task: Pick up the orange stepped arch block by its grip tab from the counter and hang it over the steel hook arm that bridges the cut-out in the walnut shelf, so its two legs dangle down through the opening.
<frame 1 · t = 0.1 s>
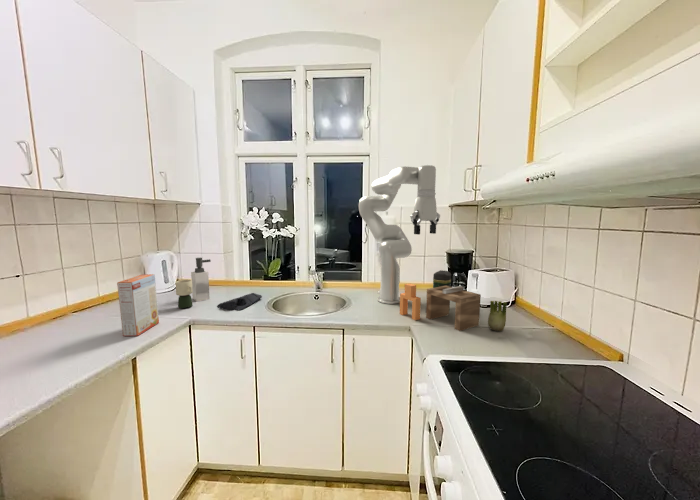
hand: (425, 233, 139), 37 cm above the countertop, tool pointing down, fingers open, 9 cm apart
dark slate chunk: (241, 304, 159), on the countertop
orange stepped arch block: (409, 316, 140), on the countertop
hook shelf: (451, 321, 134), on the countertop
cracker box: (141, 330, 124), on the countertop
coffee jar: (440, 309, 150), on the countertop
fennel bulb: (496, 330, 124), on the countertop
soap dispenser: (203, 299, 167), on the countertop
character mug: (185, 307, 152), on the countertop
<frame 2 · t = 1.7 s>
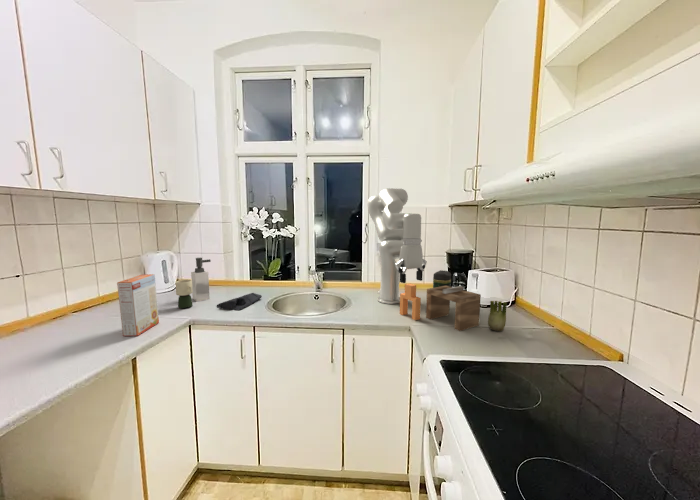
hand: (411, 281, 137), 16 cm above the countertop, tool pointing down, fingers open, 9 cm apart
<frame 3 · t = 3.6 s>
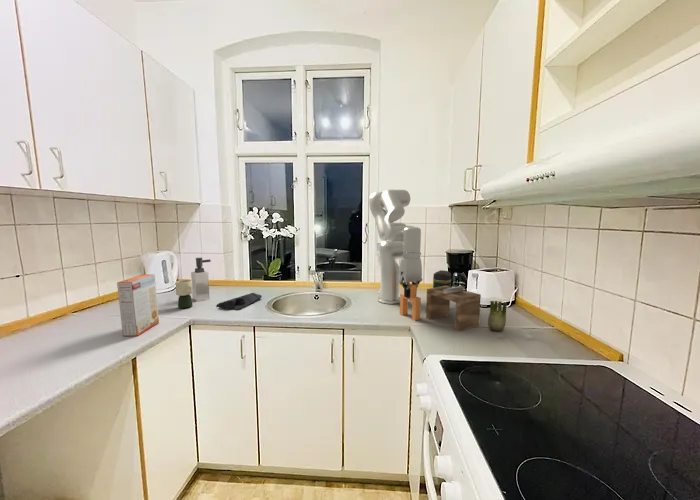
hand: (410, 296, 139), 9 cm above the countertop, tool pointing down, fingers closed on orange stepped arch block, 3 cm apart
orange stepped arch block: (409, 316, 140), on the countertop, touching gripper
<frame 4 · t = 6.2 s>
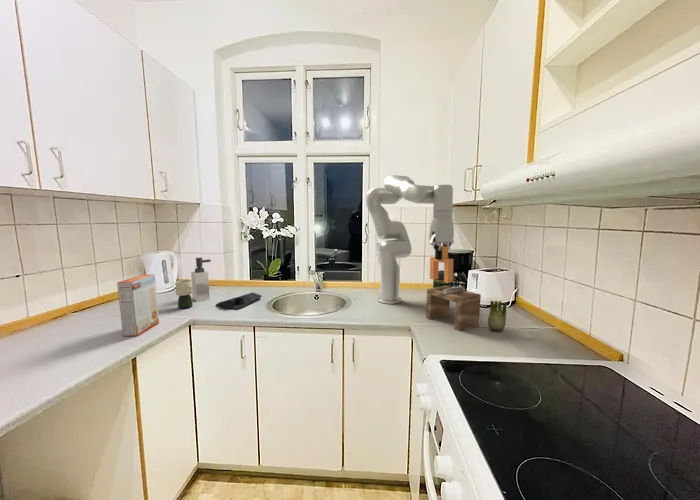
hand: (441, 258, 132), 27 cm above the countertop, tool pointing down, fingers closed on orange stepped arch block, 3 cm apart
orange stepped arch block: (441, 280, 133), point 18 cm above the countertop, touching gripper
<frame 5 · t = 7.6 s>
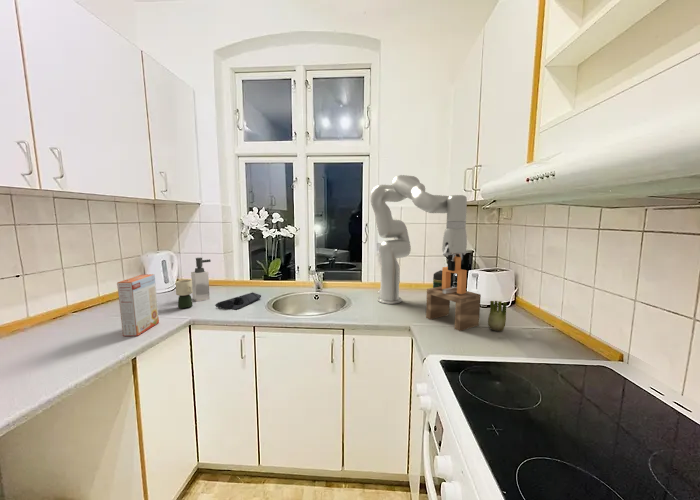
hand: (454, 269, 131), 22 cm above the countertop, tool pointing down, fingers closed on orange stepped arch block, 3 cm apart
orange stepped arch block: (453, 291, 132), point 13 cm above the countertop, touching gripper
when the fingers open (17 cm above the countertop, at t = 9.0 s): orange stepped arch block drops 1 cm, resting on hook shelf.
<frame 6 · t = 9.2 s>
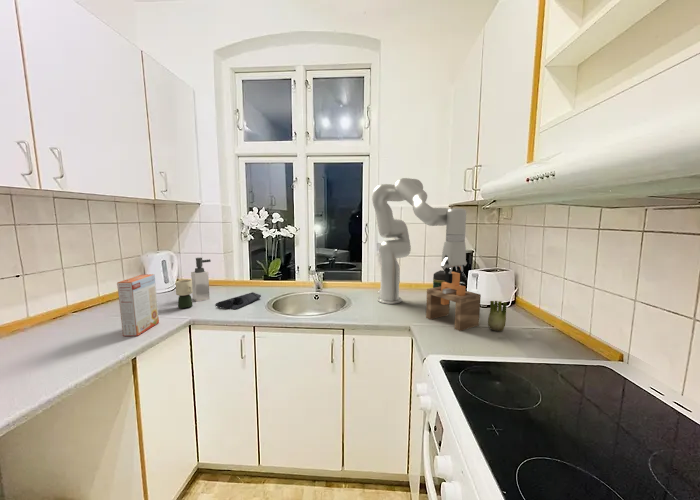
hand: (453, 281, 132), 17 cm above the countertop, tool pointing down, fingers open, 5 cm apart
orange stepped arch block: (452, 306, 133), point 7 cm above the countertop, touching hook shelf
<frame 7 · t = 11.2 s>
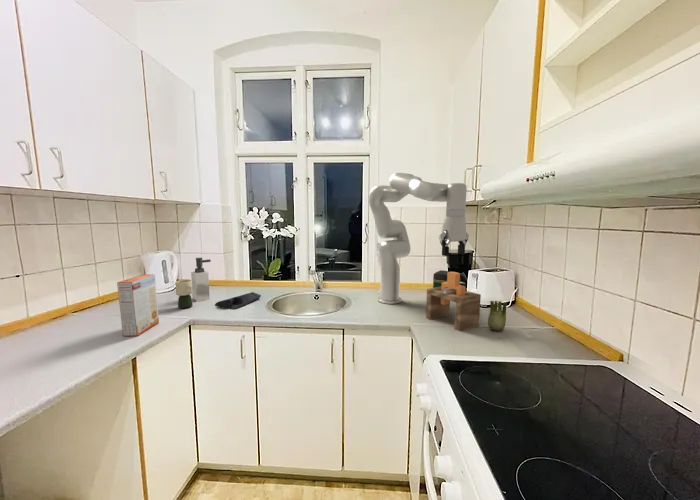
hand: (453, 255, 132), 28 cm above the countertop, tool pointing down, fingers open, 9 cm apart
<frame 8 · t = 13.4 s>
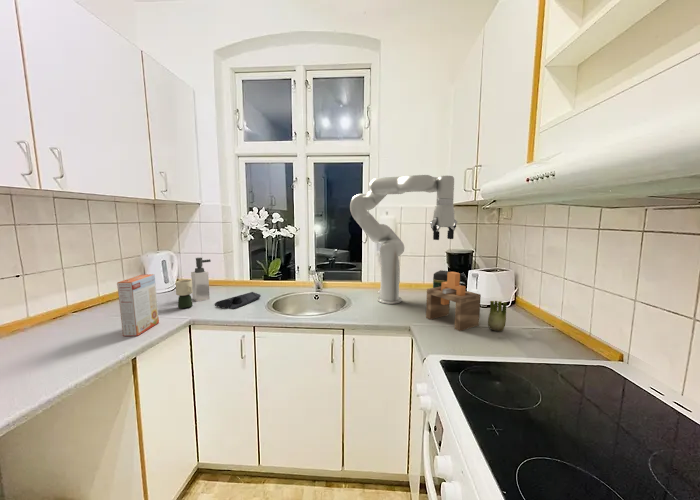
hand: (443, 239, 149), 33 cm above the countertop, tool pointing down, fingers open, 9 cm apart
at the end: orange stepped arch block 0.0 cm off-centre on the hook shelf, point 6.6 cm above the hook shelf's base; orange stepped arch block touching hook shelf; the gripper is holding nothing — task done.
